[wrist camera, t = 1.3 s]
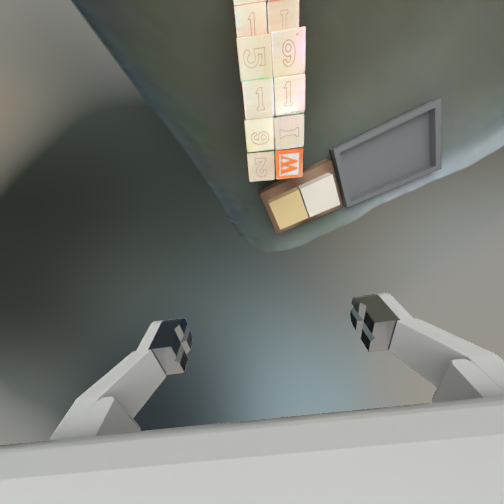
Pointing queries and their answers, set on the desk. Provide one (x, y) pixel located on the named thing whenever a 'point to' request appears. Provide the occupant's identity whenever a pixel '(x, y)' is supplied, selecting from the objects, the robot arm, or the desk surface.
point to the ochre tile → (288, 208)
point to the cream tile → (319, 194)
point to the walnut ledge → (290, 183)
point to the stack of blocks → (272, 86)
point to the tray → (390, 154)
